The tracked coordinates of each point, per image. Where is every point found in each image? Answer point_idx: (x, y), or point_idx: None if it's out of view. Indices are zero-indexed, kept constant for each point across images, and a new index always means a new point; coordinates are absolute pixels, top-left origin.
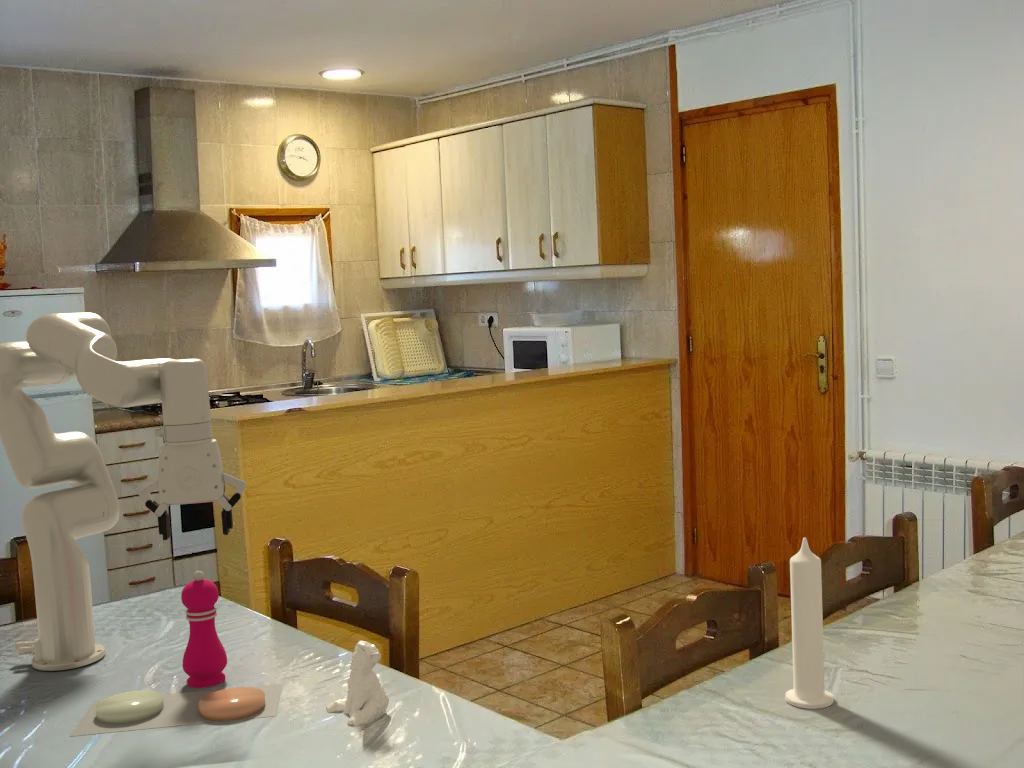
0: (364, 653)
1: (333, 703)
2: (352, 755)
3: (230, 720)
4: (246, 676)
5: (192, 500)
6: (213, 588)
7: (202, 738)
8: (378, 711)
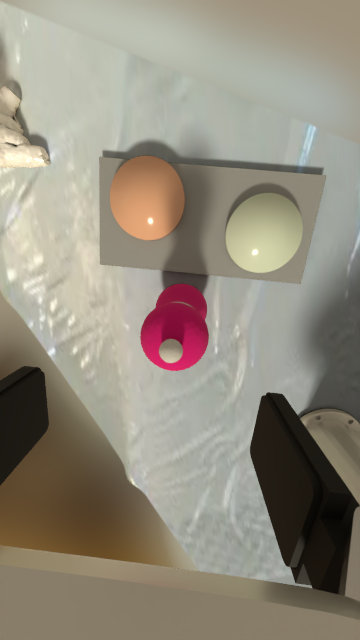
0: None
1: (30, 149)
2: (10, 19)
3: None
4: None
5: (24, 601)
6: (145, 325)
7: (179, 143)
8: None
